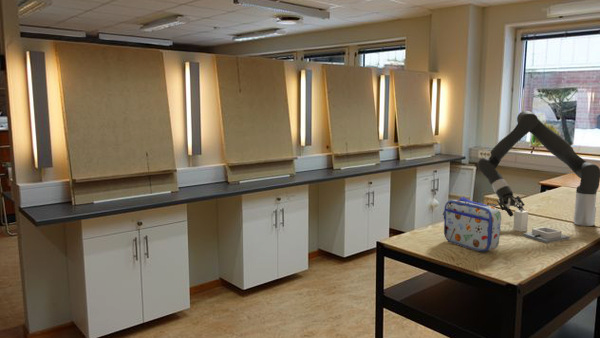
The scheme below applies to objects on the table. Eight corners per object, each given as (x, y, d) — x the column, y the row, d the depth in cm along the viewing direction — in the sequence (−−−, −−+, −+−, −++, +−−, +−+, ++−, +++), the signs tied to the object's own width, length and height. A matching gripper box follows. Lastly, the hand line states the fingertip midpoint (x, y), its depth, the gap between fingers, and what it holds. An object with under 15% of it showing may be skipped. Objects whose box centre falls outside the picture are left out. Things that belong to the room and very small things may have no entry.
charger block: (519, 228, 241) (521, 207, 239) (527, 230, 237) (528, 209, 235) (513, 229, 239) (514, 208, 237) (520, 231, 235) (522, 210, 233)
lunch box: (437, 240, 222) (439, 195, 218) (452, 236, 227) (454, 193, 224) (487, 256, 199) (490, 206, 195) (502, 252, 204) (505, 203, 201)
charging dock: (546, 231, 234) (546, 224, 233) (569, 238, 222) (570, 231, 222) (523, 235, 228) (523, 228, 227) (546, 243, 216) (546, 235, 215)
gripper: (496, 186, 241) (512, 212, 233) (516, 184, 247) (532, 209, 238) (487, 194, 247) (503, 220, 238) (507, 192, 253) (523, 217, 244)
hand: (518, 214), depth 238 cm, fingers open, 8 cm apart
